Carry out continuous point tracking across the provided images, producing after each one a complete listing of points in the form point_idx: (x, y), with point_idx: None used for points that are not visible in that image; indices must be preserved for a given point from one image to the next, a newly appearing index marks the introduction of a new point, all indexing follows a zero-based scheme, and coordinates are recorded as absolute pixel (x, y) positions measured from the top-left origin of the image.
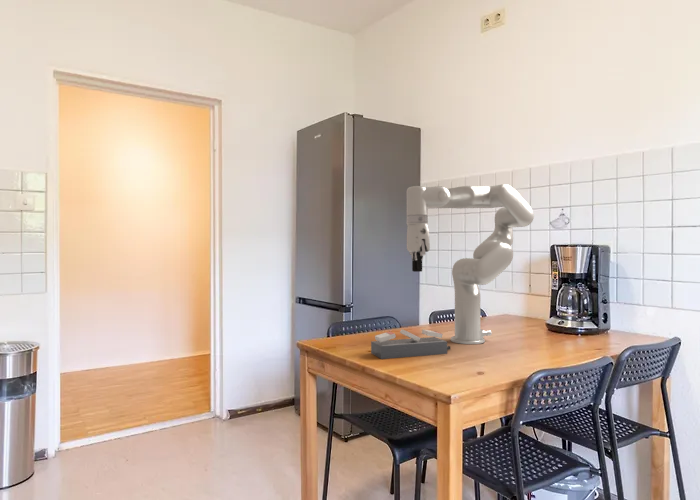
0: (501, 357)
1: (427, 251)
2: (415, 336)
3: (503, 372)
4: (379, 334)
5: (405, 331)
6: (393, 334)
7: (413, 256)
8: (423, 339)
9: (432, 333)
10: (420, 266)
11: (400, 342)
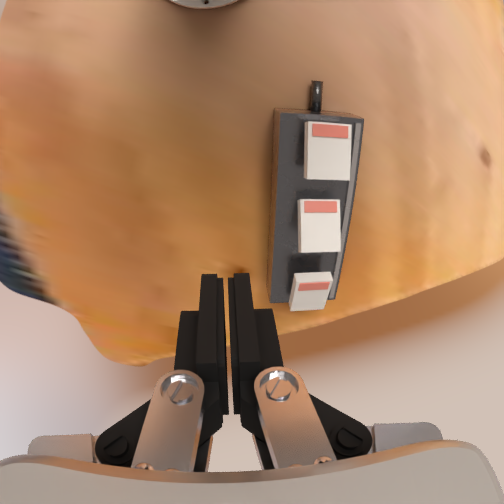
0: (424, 19)
1: (430, 445)
2: (339, 217)
3: (499, 118)
4: (292, 302)
5: (332, 251)
6: (331, 283)
7: (208, 457)
8: (303, 166)
9: (348, 162)
10: (274, 328)
11: None
